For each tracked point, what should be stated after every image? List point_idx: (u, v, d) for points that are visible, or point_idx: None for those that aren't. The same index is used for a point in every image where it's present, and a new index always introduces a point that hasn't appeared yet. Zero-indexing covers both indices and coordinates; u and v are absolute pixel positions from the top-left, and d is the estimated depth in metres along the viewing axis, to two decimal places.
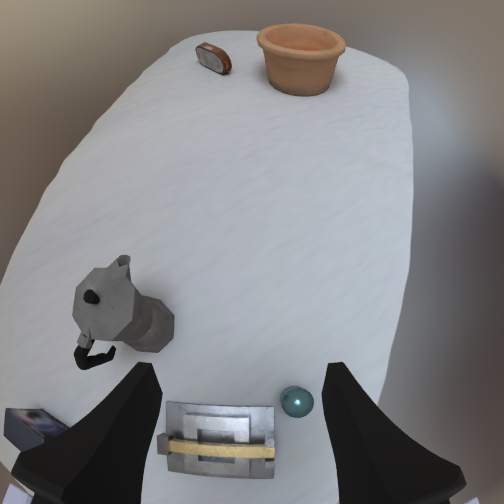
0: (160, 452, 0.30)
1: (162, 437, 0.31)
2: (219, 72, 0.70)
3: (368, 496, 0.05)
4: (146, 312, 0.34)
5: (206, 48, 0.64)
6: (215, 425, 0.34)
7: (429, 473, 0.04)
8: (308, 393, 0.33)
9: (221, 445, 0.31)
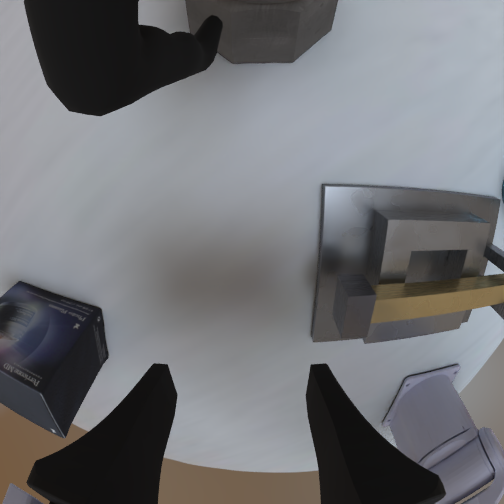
0: (349, 334, 0.15)
1: (362, 297, 0.14)
2: None
3: (344, 501, 0.05)
4: None
5: None
6: (444, 239, 0.16)
7: (406, 481, 0.04)
8: None
9: (462, 287, 0.15)
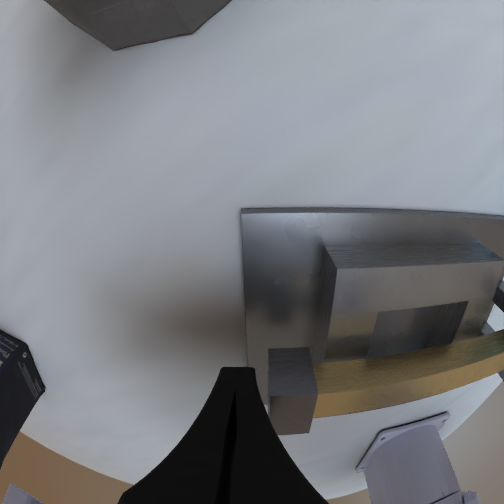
0: (280, 431, 0.10)
1: (293, 395, 0.09)
2: None
3: None
4: None
5: None
6: (434, 291, 0.10)
7: (288, 503, 0.04)
8: None
9: (462, 358, 0.09)
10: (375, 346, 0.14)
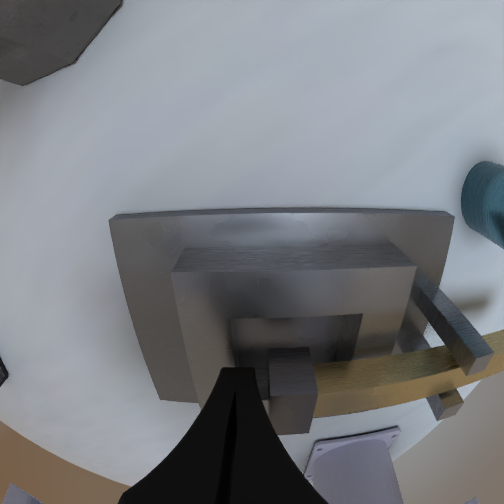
0: (280, 431, 0.10)
1: (293, 395, 0.09)
2: None
3: None
4: None
5: None
6: (300, 300, 0.10)
7: None
8: None
9: None
10: None
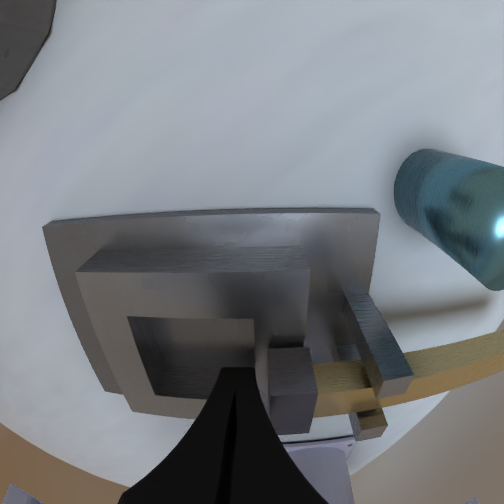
0: (280, 431, 0.10)
1: (293, 395, 0.09)
2: None
3: None
4: None
5: None
6: (183, 302, 0.10)
7: None
8: None
9: (462, 358, 0.09)
10: (188, 354, 0.14)
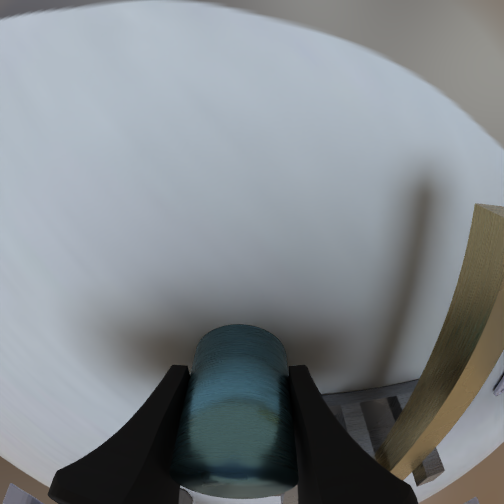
0: None
1: None
2: None
3: None
4: None
5: None
6: None
7: (374, 490, 0.04)
8: (186, 465, 0.06)
9: (420, 419, 0.07)
10: None
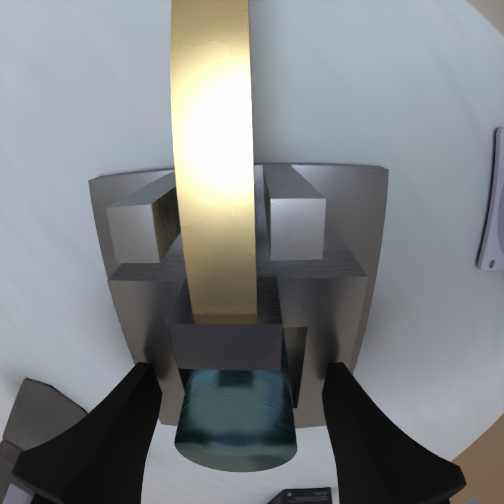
0: (270, 358, 0.07)
1: (177, 346, 0.07)
2: None
3: (368, 496, 0.05)
4: None
5: None
6: (162, 372, 0.11)
7: (429, 472, 0.04)
8: (187, 433, 0.07)
9: None
10: None
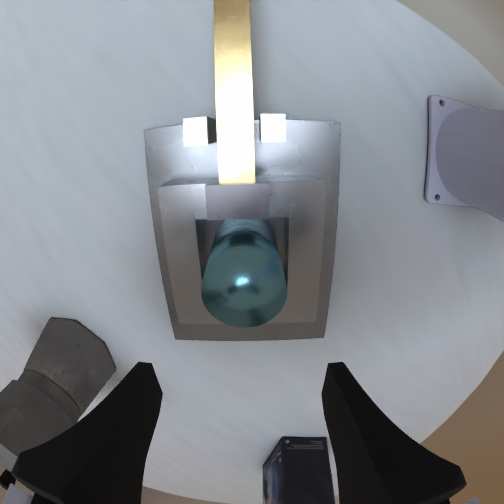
0: (263, 209, 0.13)
1: (209, 203, 0.13)
2: None
3: (368, 496, 0.05)
4: (14, 390, 0.14)
5: None
6: (187, 261, 0.17)
7: (429, 472, 0.04)
8: (211, 274, 0.13)
9: None
10: None
